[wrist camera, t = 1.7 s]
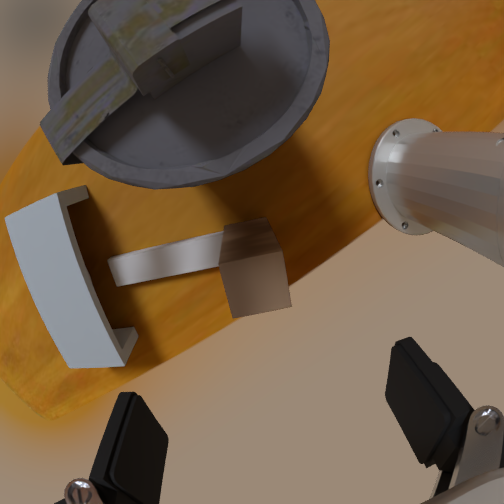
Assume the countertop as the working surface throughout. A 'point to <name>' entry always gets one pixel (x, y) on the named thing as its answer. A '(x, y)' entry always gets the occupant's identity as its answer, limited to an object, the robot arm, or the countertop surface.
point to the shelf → (65, 284)
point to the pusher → (226, 257)
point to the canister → (182, 86)
